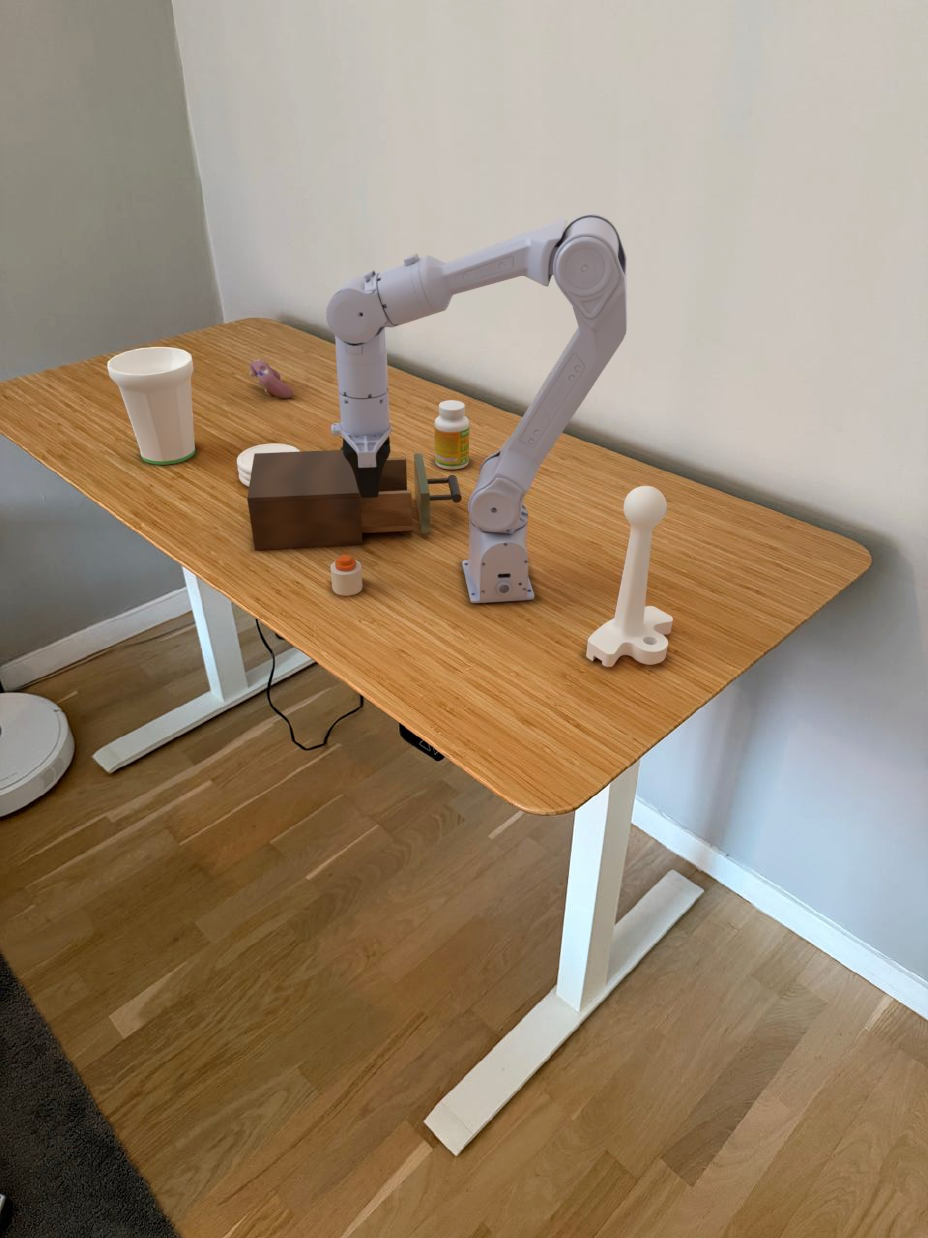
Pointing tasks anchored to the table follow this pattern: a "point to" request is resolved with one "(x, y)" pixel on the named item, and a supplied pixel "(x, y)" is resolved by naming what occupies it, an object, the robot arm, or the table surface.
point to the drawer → (403, 498)
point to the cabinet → (303, 500)
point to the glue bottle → (346, 576)
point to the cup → (157, 401)
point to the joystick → (635, 592)
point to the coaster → (248, 455)
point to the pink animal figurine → (270, 379)
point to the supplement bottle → (451, 436)
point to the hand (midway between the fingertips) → (369, 495)
